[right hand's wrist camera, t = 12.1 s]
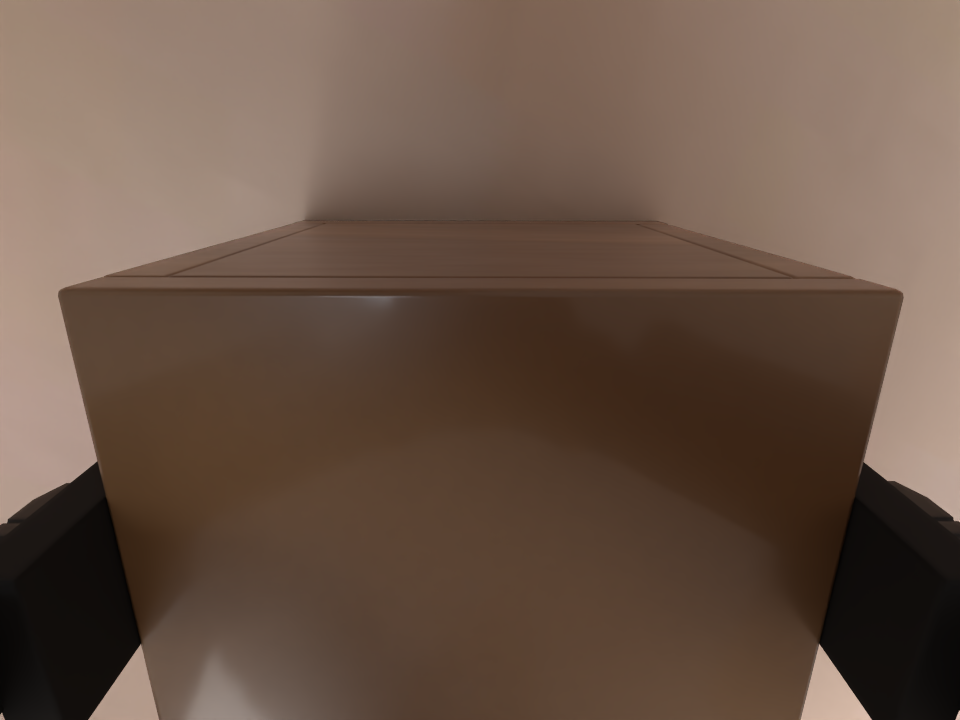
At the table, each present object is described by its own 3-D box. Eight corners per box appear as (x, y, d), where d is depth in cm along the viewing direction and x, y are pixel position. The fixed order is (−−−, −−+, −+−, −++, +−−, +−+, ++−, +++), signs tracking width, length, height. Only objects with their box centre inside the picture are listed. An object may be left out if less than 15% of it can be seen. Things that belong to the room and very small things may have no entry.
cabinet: (607, 738, 24) (698, 1146, 14) (351, 737, 24) (258, 1144, 14) (659, 221, 17) (909, 290, 7) (302, 220, 17) (52, 288, 7)
